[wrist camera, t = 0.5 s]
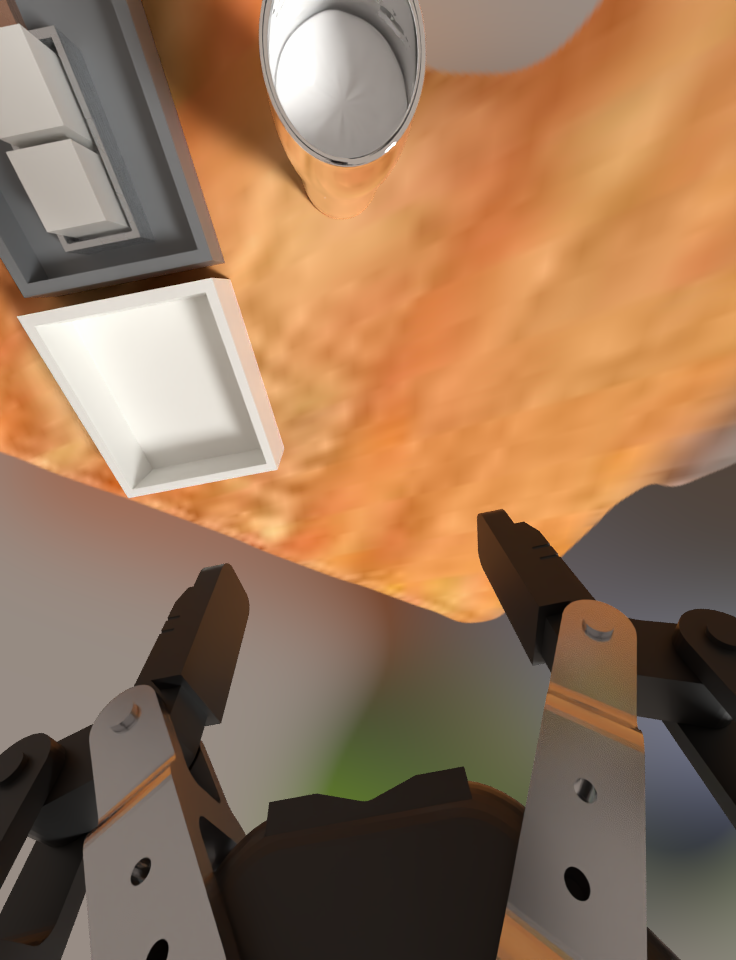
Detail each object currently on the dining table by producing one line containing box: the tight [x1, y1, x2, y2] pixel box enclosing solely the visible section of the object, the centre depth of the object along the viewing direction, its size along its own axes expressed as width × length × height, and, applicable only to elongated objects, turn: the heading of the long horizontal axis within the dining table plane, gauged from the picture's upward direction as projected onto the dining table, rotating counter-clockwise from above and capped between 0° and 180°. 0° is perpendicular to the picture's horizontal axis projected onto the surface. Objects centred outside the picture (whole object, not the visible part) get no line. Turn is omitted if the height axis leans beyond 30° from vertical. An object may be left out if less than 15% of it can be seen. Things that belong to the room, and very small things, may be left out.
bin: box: [17, 278, 284, 498], centre depth 31 cm, size 16×15×5 cm
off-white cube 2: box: [6, 139, 132, 240], centre depth 23 cm, size 4×4×4 cm
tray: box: [0, 0, 225, 298], centre depth 23 cm, size 18×15×3 cm
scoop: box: [0, 0, 156, 255], centre depth 23 cm, size 12×6×2 cm, turn 10°
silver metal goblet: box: [259, 0, 426, 219], centre depth 20 cm, size 7×7×15 cm
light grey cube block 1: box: [0, 24, 98, 151], centre depth 21 cm, size 4×4×4 cm
